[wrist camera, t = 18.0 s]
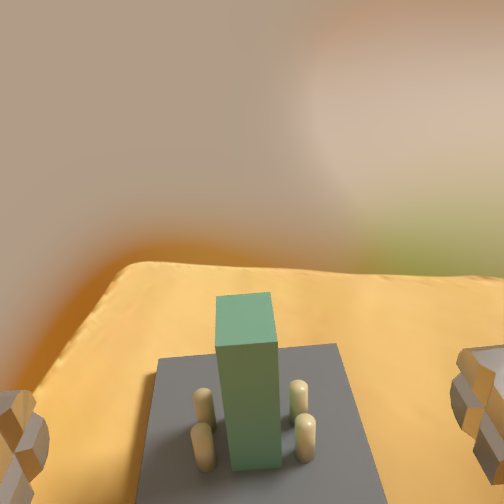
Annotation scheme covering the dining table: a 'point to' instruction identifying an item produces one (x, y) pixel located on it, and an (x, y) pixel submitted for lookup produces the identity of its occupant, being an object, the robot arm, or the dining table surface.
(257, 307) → the board block
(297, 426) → the pin base
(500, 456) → the robot arm
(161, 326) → the dining table surface
